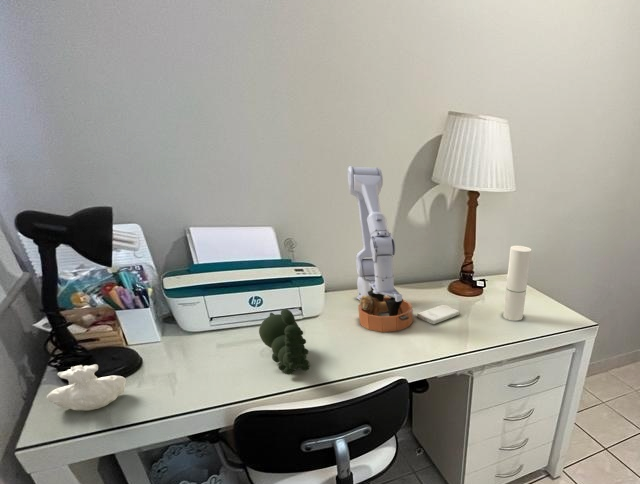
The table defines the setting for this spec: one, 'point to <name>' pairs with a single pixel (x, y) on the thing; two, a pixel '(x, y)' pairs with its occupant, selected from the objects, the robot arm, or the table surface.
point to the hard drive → (438, 314)
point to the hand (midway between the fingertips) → (386, 314)
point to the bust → (86, 389)
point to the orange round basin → (387, 319)
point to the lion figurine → (374, 305)
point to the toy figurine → (285, 341)
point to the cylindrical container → (516, 282)
